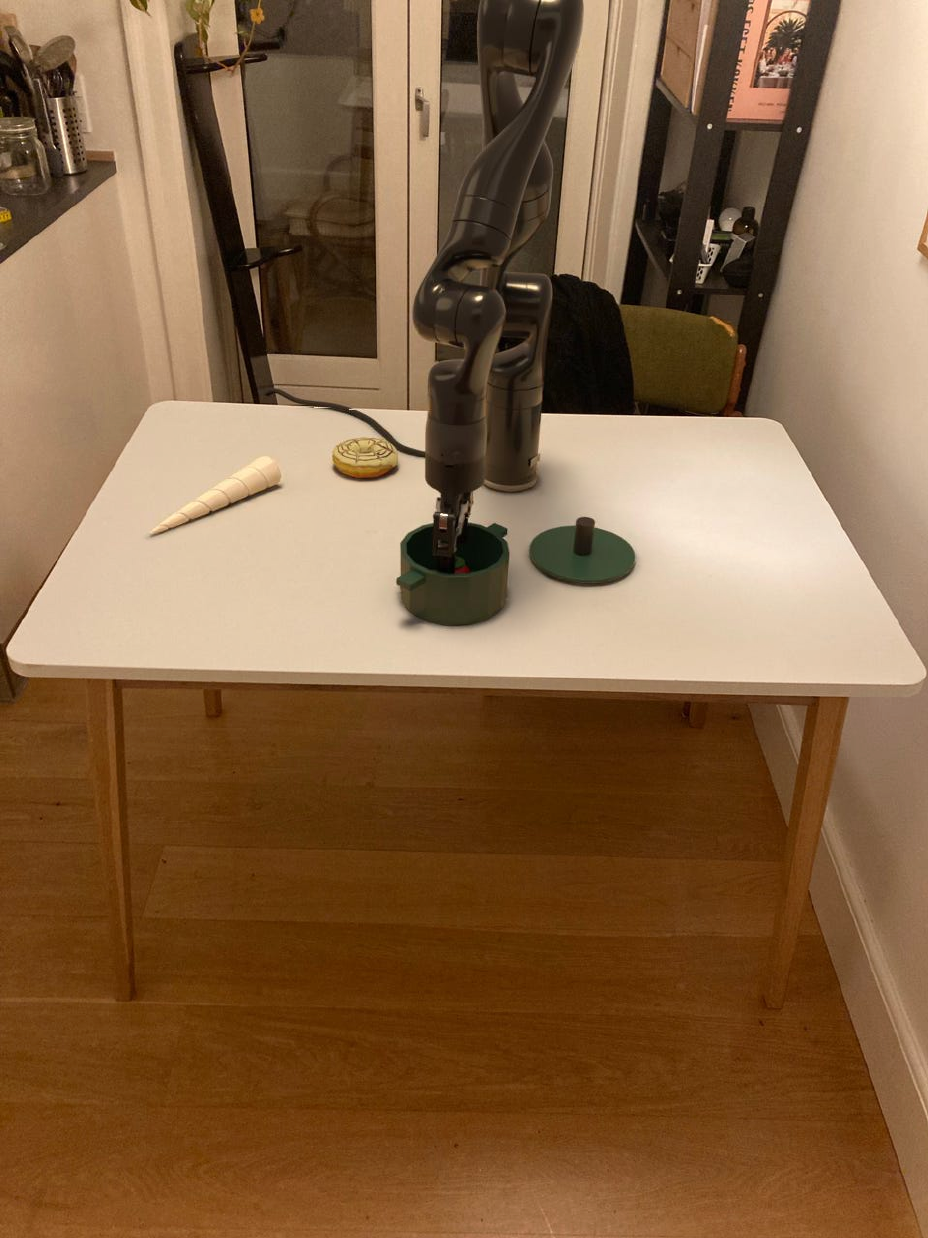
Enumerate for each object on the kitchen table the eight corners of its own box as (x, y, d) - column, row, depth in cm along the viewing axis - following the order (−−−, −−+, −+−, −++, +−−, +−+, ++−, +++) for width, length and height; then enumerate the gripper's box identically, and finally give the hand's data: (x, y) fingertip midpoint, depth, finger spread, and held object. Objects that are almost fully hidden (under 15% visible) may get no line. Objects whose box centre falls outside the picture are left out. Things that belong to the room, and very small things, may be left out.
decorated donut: (409, 472, 163) (409, 451, 161) (352, 487, 158) (352, 466, 156) (378, 448, 170) (377, 428, 168) (322, 462, 165) (321, 441, 163)
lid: (507, 559, 141) (510, 521, 138) (569, 521, 151) (573, 485, 147) (595, 599, 133) (600, 561, 130) (654, 556, 143) (660, 520, 139)
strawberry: (432, 592, 133) (432, 557, 129) (452, 580, 135) (453, 545, 132) (455, 604, 130) (456, 569, 127) (475, 592, 133) (477, 556, 130)
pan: (364, 604, 131) (363, 556, 126) (460, 549, 143) (462, 503, 139) (444, 648, 123) (445, 598, 119) (538, 585, 136) (542, 539, 131)
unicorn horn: (135, 527, 145) (130, 498, 143) (265, 477, 160) (263, 450, 157) (153, 539, 143) (148, 510, 140) (283, 487, 157) (281, 460, 155)
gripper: (438, 419, 127) (436, 528, 137) (412, 469, 116) (412, 584, 125) (495, 426, 126) (489, 534, 136) (475, 477, 115) (470, 591, 124)
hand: (452, 558), depth 130 cm, fingers open, 8 cm apart
